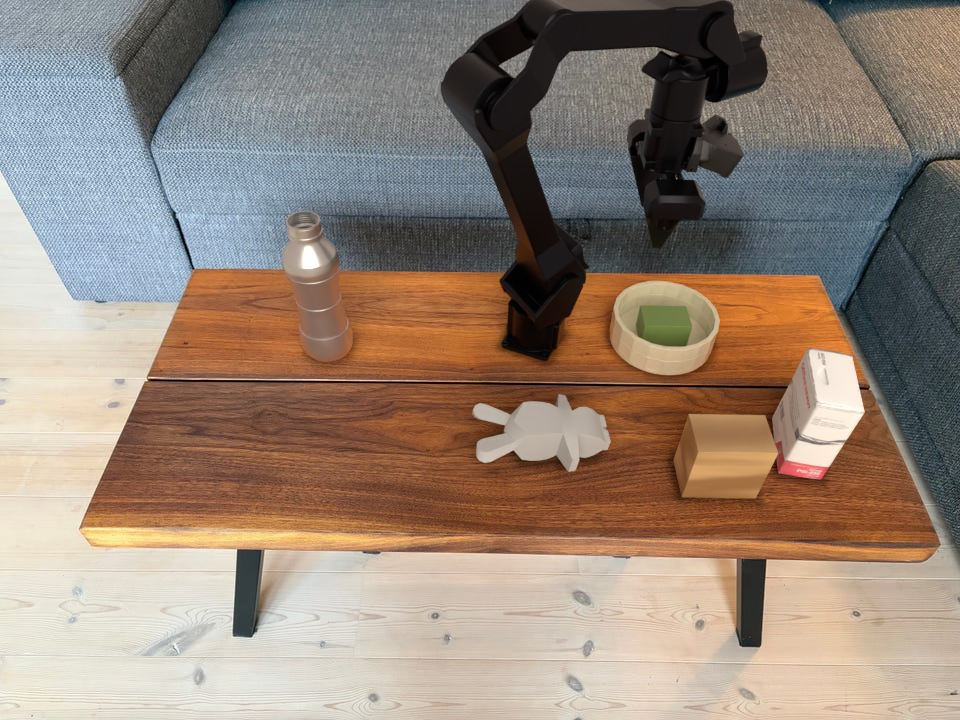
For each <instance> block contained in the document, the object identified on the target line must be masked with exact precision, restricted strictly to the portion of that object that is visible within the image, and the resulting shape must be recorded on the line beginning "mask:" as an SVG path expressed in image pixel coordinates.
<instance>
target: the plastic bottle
mask: <svg viewBox="0 0 960 720" xmlns="http://www.w3.org/2000/svg"><path fill="white" fill-rule="evenodd" d="M285 220H286V221H285V224H286V225H285V226H286V234H287V238H288V239H289V240H288V241H287V242H286V244H285V246H284V247H283V250H282V252H281V261H280V262H281V266H282V269H283V272H284V274H285V276H286V278H287V281H288V283H289V286H290V289H291V290H292V291H291V292H292V294H293V296H294V300H295V304H296V306H297V314H298V321H299V326H298V331H299V332H298V333H299V334H298V335H299V343H300V344H301V347H302V348H303V351H304V352H305V354H306V355H308V356H309V357H310V358H312V359H314V360H315V361H318V362H322V363H331V362H336V361H339V360H341V359H343V358H344V357H345V356H347V355H348V353H349V352H350V351H351V349H352V347H353V343H354V331H353V329H352V325H351V322H350V320H349V319H348V317H347V313H346V310H345V306H344V304H343V303H344V302H343V299H342V292H341V281H340V279H341V277H340V274H341V273H340V272H341V269H340V267H341V265H340V263H341V262H340V254H339V252H338V250H337V248H336V246H335V245H334V244H333V242H331V241H330V239H328V237H325V236H324V228H323V225H322V219H321V218H320V216H319V214H318V213H316V212H314V211H311V210H301V211H295V212H293V213H292V214H289V215H288V216H287V218H286V219H285Z"/></svg>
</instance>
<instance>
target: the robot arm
mask: <svg viewBox="0 0 960 720" xmlns="http://www.w3.org/2000/svg"><path fill="white" fill-rule="evenodd" d="M734 7H735V5H734V3H733V2H732V1H731V0H528V1H526V3H525V4H524V5H523V6H522V7H520V9H519V10H518V11H517V12H516V14H514V15H513V16H512V17H511V18H509V19H508V20H506V21H503V22H502V23H501V24H499V25H497V26H495V27H494V28H491V29H490V30H488V31H486V32H484V33H482V35H480V36H479V37H478V38H477V39H476V40H475V41H474V42H473V43H472V44H471V45H470V47H468V49H467V50H466V51H465V52H464V53H463V54H462V55H461V56H459V57H457V58H456V59H455V60H454V61H453V62H452V63H451V64H450V65H449V67H448V69H447V70H446V71H445V73H444V75H443V79H442V81H441V82H440V95H441V98H442V101H443V103H444V104H445V105H446V107H447V108H448V110H449V111H450V113H451V114H452V115H453V116H454V118H455V119H456V121H457V122H458V124H459V125H460V126H461V127H462V128H463V130H464V131H465V132H466V134H468V136H469V137H470V138H471V139H472V141H473V142H474V143H475V145H477V147H478V148H479V149H480V152H481V153H482V155H483V159H484V161H485V162H486V165H487V167H488V171H489V172H490V175H491V177H492V179H493V182H494V183H495V187H496V189H497V192H498V194H499V196H500V198H501V201H502V204H503V206H504V208H505V210H506V214H507V216H508V218H509V220H510V222H511V225H512V227H513V230H514V232H515V234H516V236H517V243H516V246H515V249H514V255H515V260H514V261H513V262H512V264H511V265H510V266H509V268H508V269H507V270H506V271H505V273H504V274H503V275H502V276H501V277H500V278H499V281H498V283H499V285H500V287H501V290H502V291H503V292H504V293H505V294H506V295H507V296H508V297H509V298H510V299H509V301H508V303H507V319H506V334H505V336H504V338H503V339H502V341H501V343H500V346H501V348H503V349H505V350H509V351H512V352H515V353H518V354H521V355H524V356H527V357H531V358H533V359H536V360H540V361H544V362H547V361H548V360H549V359H550V357H551V356H552V354H553V352H554V351H556V350H557V349H558V347H559V346H560V344H561V342H562V340H563V338H564V332H565V325H566V319H568V318H570V316H571V315H572V312H573V310H574V308H575V306H576V304H577V302H578V300H579V297H580V295H581V293H582V291H583V288H584V284H586V282H587V271H586V270H589V269H590V265H589V264H587V263H586V261H585V256H584V249H583V246H582V245H581V243H580V242H578V241H577V239H575V238H574V237H573V236H572V235H570V233H569V232H567V231H566V230H565V229H564V228H563V227H562V226H561V225H559V223H557V222H556V221H555V220H554V217H553V214H552V212H551V208H550V206H549V203H548V199H547V197H546V195H545V191H544V188H543V186H542V183H541V181H540V178H539V173H538V172H537V169H536V166H535V163H534V160H533V157H532V155H531V151H530V149H529V144H528V139H529V136H530V133H531V130H532V126H533V121H532V120H533V119H532V113H531V112H532V111H533V110H534V109H535V107H536V106H537V105H538V104H539V103H540V102H541V101H542V100H543V99H544V98H545V97H546V95H547V94H548V92H549V90H550V87H551V84H552V82H553V80H554V77H555V74H556V73H557V69H558V67H559V65H560V63H561V62H562V61H563V60H564V59H565V58H566V57H567V56H568V54H569V53H571V52H573V53H574V52H590V51H609V50H624V49H625V50H626V49H627V50H628V49H645V48H656V49H662V50H659V51H658V52H657V54H656V55H655V56H654V57H652V58H651V59H649V60H648V61H646V62H645V63H644V65H643V66H642V67H641V73H643V74H644V75H647V76H648V77H649V78H651V79H653V80H654V86H653V89H652V95H651V100H650V101H651V102H650V107H649V108H645V111H644V116H643V118H637V119H636V120H634V121H633V122H631V123H630V124H629V125H628V128H627V134H626V142H627V150H628V154H629V159H630V163H631V167H632V172H633V175H634V180H635V185H636V189H637V193H638V197H639V202H640V206H641V207H643V212H644V216H645V221H646V225H647V230H648V234H649V238H650V244H651V246H652V249H658V250H659V249H662V248H663V246H664V245H665V244H666V241H668V239H669V238H670V236H671V234H672V233H673V231H674V230H675V228H676V227H677V226H678V225H679V224H680V223H681V222H682V221H699V220H700V219H702V218H703V216H704V212H705V208H706V205H707V202H706V199H705V197H704V196H705V195H704V194H703V191H702V188H701V186H700V185H699V184H698V183H697V182H696V180H694V179H684V175H683V171H685V172H686V173H697V172H698V168H702V169H704V170H707V171H710V172H711V173H715V174H718V175H719V177H721V178H723V179H728V178H729V177H730V176H731V175H732V173H733V172H734V170H735V169H736V167H737V166H738V164H739V163H740V162H741V160H742V159H743V157H744V156H745V153H744V151H743V149H742V147H741V145H740V143H739V141H738V140H737V138H735V136H734V135H733V133H732V132H728V131H729V124H728V122H727V119H726V118H725V117H723V116H721V115H718V114H713V115H712V116H711V117H709V118H708V119H706V120H705V121H704V122H702V123H701V118H702V113H703V109H704V106H705V101H706V102H709V103H712V104H715V103H722V102H723V101H727V100H731V99H734V98H737V97H740V96H744V95H747V94H751V93H753V92H756V91H758V90H759V89H761V88H762V87H763V85H764V84H765V82H766V81H767V77H768V74H769V69H768V60H767V56H766V53H765V50H764V49H763V47H762V46H761V45H762V41H763V35H762V34H761V33H759V32H756V31H754V30H752V29H746V30H743V31H740V32H738V29H737V25H736V22H735V8H734ZM530 49H531V51H530V53H529V56H528V58H527V60H526V63H525V65H524V68H523V69H522V70H521V71H520V72H518V74H517V75H516V76H513V75H511V74H510V73H509V72H508V71H506V70H505V69H504V68H502V67H500V66H501V65H503V64H504V63H506V62H507V61H509V60H511V59H513V58H515V57H517V56H519V55H520V54H523V53H524V52H526V51H528V50H530ZM663 50H665V51H668V52H671V53H673V54H669V53H667V52H665V51H663Z"/></svg>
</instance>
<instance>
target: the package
mask: <svg viewBox="0 0 960 720" xmlns="http://www.w3.org/2000/svg"><path fill="white" fill-rule="evenodd" d="M636 328H637V333H638V337H639V338H642V339H644V340H646V341H648V342H650V343H653V344H658V345H662V346H687V343H688V339H689V336H690V333H691V329H692V324H691V321H690V317H689V314H688V310H687V307H686V306H648V305H640V309H639V313H638V318H637V322H636Z"/></svg>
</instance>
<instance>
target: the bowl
mask: <svg viewBox="0 0 960 720" xmlns="http://www.w3.org/2000/svg"><path fill="white" fill-rule="evenodd" d="M640 305H648V306H686V307H687V310H688V314H689V317H690V321H691V324H692V329H691V333H690V336H689V339H688V343H687V346H662V345H658V344H653V343H650V342H648V341H646V340H644V339H642V338H639V337H638V333H637V328H636V322H637V318H638V313H639V309H640ZM720 322H721V319H720V317H719V313H718V311H717V308H716V307H715V306H714V304H713V303H712V302H711V301H710V300H709V298H707V297H706V296H704V295H703V294H702V293H700V291H698V290H696V289H694V288H691V287H690V286H687V285H685V284H682V283H677V282H674V281H673V282H672V281H668V280H647V281H642V282H637V283H634V284H633V285H631V286H629V287H626V288H625V289H623V290H622V291H621V293H620V294H619V295H617V297H616V298H615V301H614V305H613V309H612V313H611V321H610V325H609V340H610V344H611V346H612V348H613V350H614V351H615V353H616V354H617V355H618V356H619V358H621V359H622V360H623V361H624V362H626V363H627V364H629V365H630V366H632V367H634V368H636V369H638V370H641V371H643V372H647V373H650V374H654V375H660V376H678V375H684V374H688V373H691V372H693V371H695V370H697V369H699V368H700V367H702V366H703V365H704V363H706V362H707V360H708V359H709V357H710V355H711V354H712V350H713V348H714V345H715V341H716V338H717V336H718V333H719V329H720Z"/></svg>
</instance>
